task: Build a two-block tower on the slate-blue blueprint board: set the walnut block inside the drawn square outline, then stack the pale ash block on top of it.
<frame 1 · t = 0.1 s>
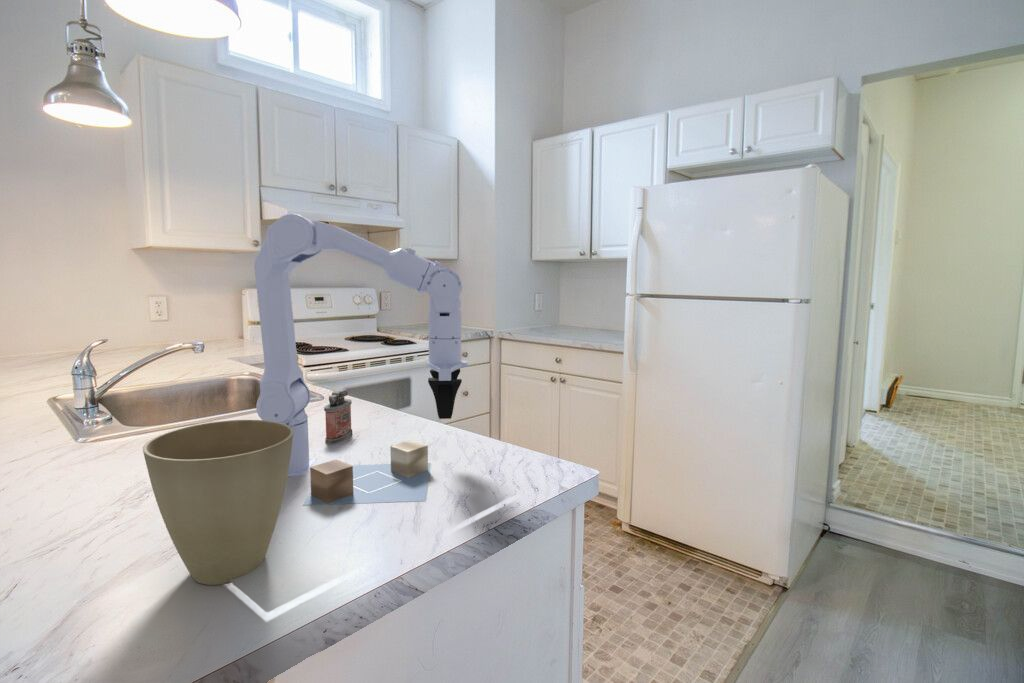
hand: (445, 412, 93), 10 cm above the counter, fingers open, 7 cm apart
ash block: (409, 470, 90), point 1 cm above the counter, touching blueprint board
plant pot: (230, 568, 61), on the counter
walnut block: (332, 494, 80), point 1 cm above the counter, touching blueprint board
blueprint board: (373, 485, 85), on the counter
lighter: (339, 438, 110), on the counter
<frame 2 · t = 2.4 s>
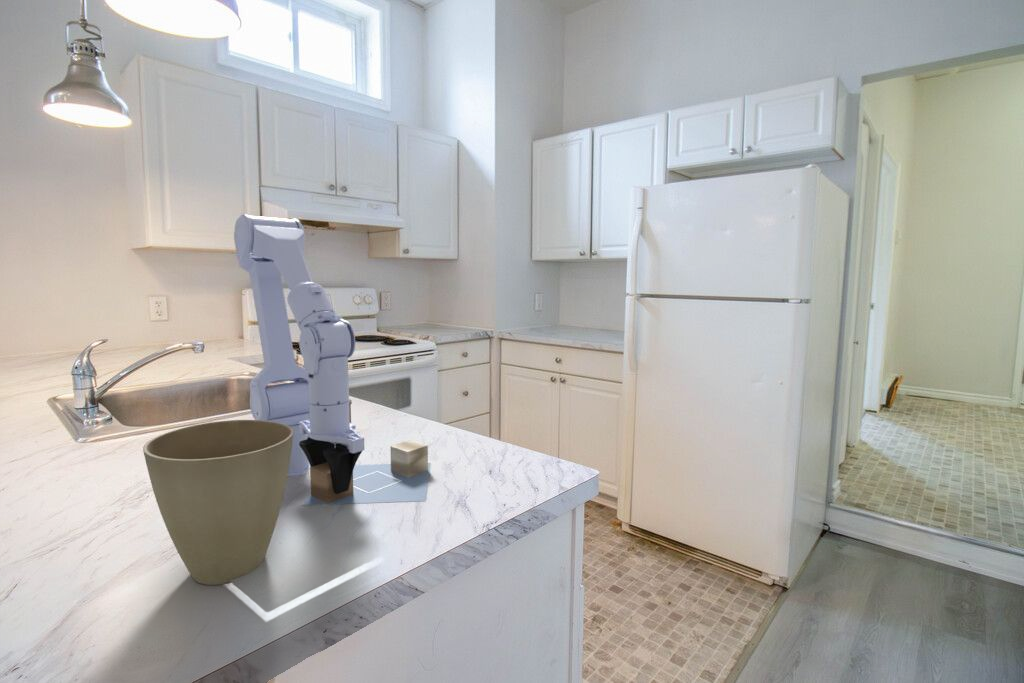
hand: (332, 487, 80), 2 cm above the counter, fingers closed on walnut block, 4 cm apart
walnut block: (332, 494, 80), point 1 cm above the counter, touching blueprint board, gripper
everything else where it was.
when the fingers open (3 cm above the counter, at t = 5.9 s): walnut block drops 1 cm, resting on blueprint board.
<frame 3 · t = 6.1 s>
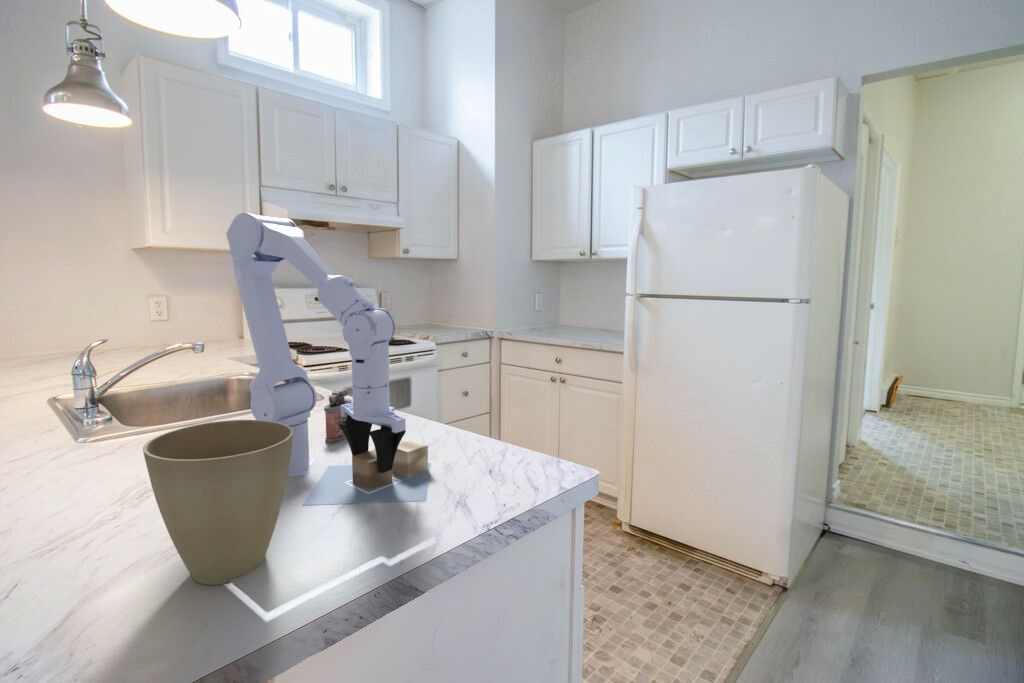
hand: (372, 466, 85), 3 cm above the counter, fingers open, 6 cm apart
walnut block: (372, 482, 85), point 1 cm above the counter, touching blueprint board
everything else where it was.
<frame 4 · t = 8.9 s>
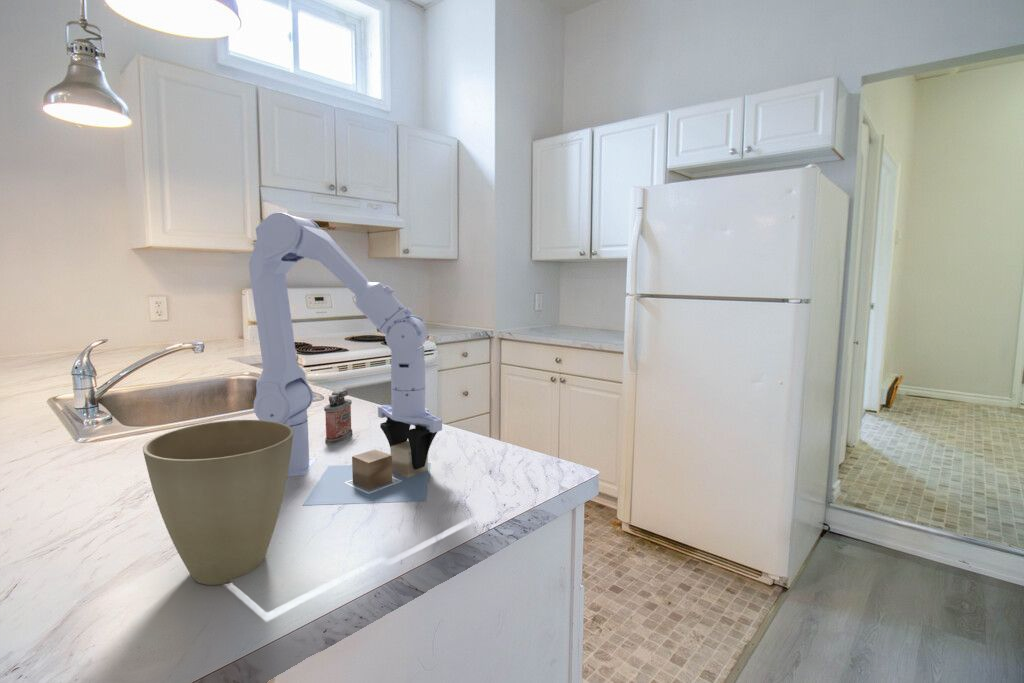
hand: (409, 464, 90), 2 cm above the counter, fingers closed on ash block, 4 cm apart
ash block: (409, 470, 90), point 1 cm above the counter, touching blueprint board, gripper
everything else where it was.
when the fingers open (7 cm above the counter, at t = 11.4 s): ash block drops 1 cm, resting on walnut block.
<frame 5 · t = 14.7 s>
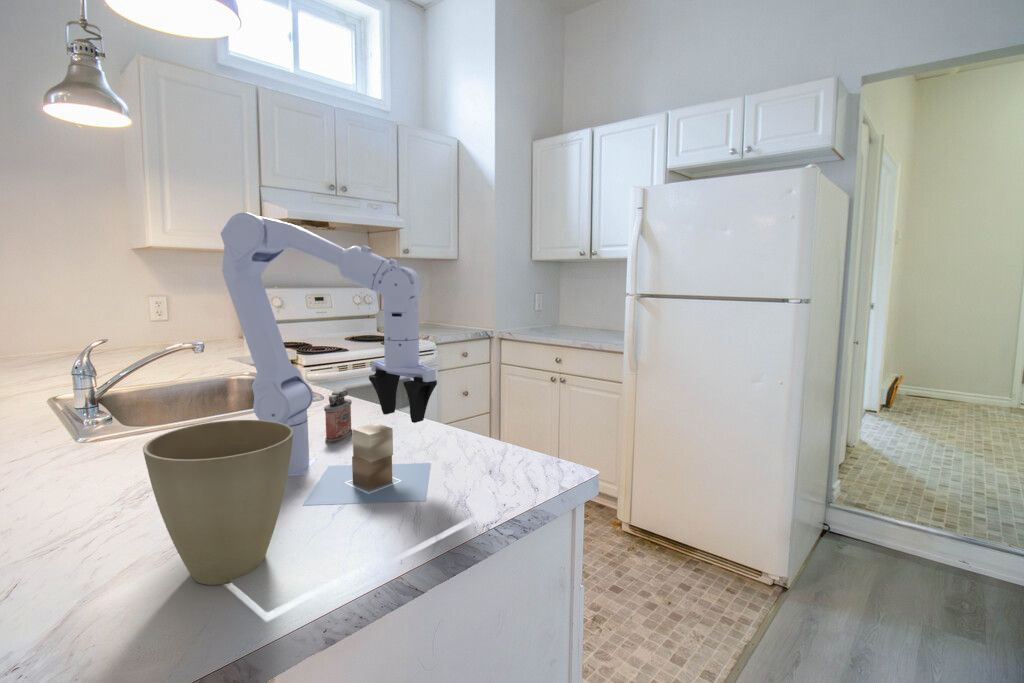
hand: (402, 417, 89), 10 cm above the counter, fingers open, 7 cm apart
ash block: (373, 455, 85), point 5 cm above the counter, touching walnut block
walnut block: (372, 482, 85), point 1 cm above the counter, touching ash block, blueprint board
everything else where it was.
at the end: walnut block 0.1 cm off-centre on the blueprint board, point 0.6 cm above the blueprint board's base; ash block 0.3 cm off-centre on the walnut block, point 4.5 cm above the walnut block's base; ash block tilted 0° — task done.
